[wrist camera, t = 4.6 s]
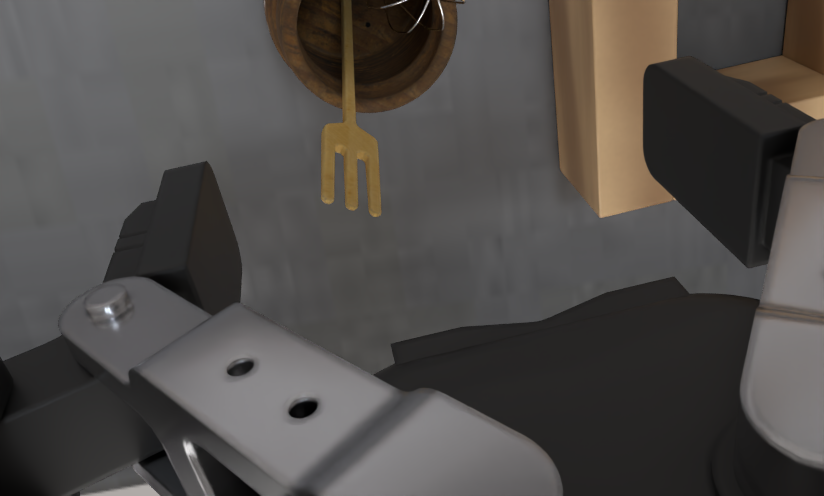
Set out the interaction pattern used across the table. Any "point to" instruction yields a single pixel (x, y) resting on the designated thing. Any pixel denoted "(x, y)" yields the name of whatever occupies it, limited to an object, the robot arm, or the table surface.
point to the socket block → (623, 88)
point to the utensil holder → (362, 69)
